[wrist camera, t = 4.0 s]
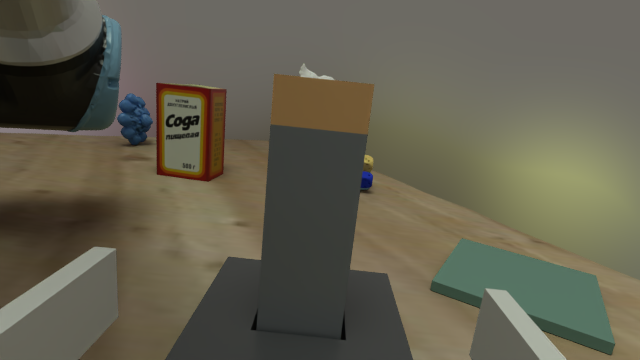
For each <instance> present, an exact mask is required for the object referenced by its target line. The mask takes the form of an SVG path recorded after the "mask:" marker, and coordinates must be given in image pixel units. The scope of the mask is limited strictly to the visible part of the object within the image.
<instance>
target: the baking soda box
mask: <svg viewBox="0 0 640 360" xmlns="http://www.w3.org/2000/svg"><path fill="white" fill-rule="evenodd" d="M156 88H157V89H156V90H157V91H156V93H157V94H156V96H157V97H156V98H157V99H156V102H157V175H164V176H172V177H179V178H186V179H193V180H200V181H207V182H208V181H210V180H212V179H214V178H216V177H218V176H220V175H222V174H223V163H224V137H225V112H226V89H221V88H214V87H207V86H201V85H194V86H192V85H181V84H169V83H168V84H167V83H156Z"/></svg>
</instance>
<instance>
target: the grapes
mask: <svg viewBox="0 0 640 360" xmlns="http://www.w3.org/2000/svg"><path fill="white" fill-rule="evenodd" d="M144 106H145V102H144V101H143V99H142V98H140V97H136V96H135V95H134V94H131V93H130V94H128V95H127V96H126V97H125V100H122V101H121V102H120V104H119V108H120V109H121V111H122V112H123V113H121V114H120V115H119V116H118V118H117V120H118V122H119V123H120V124H121V125H122V126H124V127H123V128H122V130H121V134H122V135H123V137H124V138H126V139H128V140H129V142H130V143H131V144H133V145H137V144H139V142H143V141H145V140H146V138H147V135H146V133H145V132H147V131H148V130H149V129H150V127H151V124H152V123H153V121H152V119H151V118H150V113H149V112H148V110H147V109H146V108H144Z"/></svg>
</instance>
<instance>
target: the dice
mask: <svg viewBox="0 0 640 360" xmlns="http://www.w3.org/2000/svg"><path fill="white" fill-rule="evenodd" d="M372 167H373V158H372V157H371V156H368V155H365V158H364V166H363V173H362V181H361V188H360V190H368V189H369V187H371V186H372V180H373V175H372V174H371V173H370V171H372Z"/></svg>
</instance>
